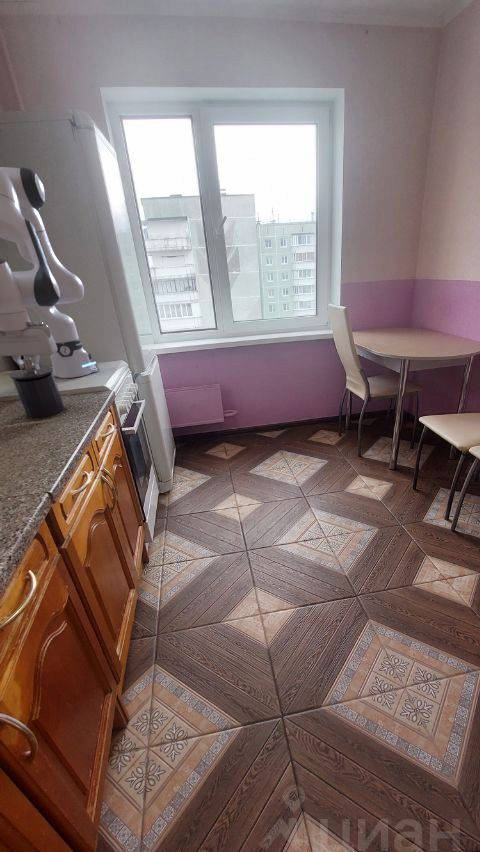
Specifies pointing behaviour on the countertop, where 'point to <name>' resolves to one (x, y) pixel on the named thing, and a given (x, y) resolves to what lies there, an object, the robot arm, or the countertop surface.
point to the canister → (40, 396)
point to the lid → (30, 371)
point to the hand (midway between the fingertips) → (30, 369)
